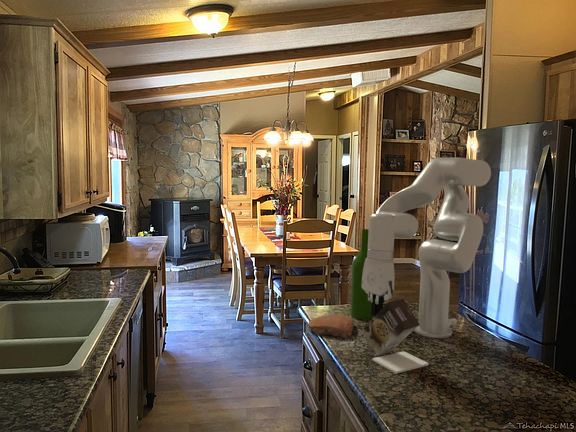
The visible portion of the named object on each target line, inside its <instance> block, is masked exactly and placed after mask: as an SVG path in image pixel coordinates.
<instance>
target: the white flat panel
mask: <svg viewBox="0 0 576 432" xmlns="http://www.w3.org/2000/svg"><path fill="white" fill-rule="evenodd" d="M372 362H374V363H375V364H378V365H380V366H382V367H383V368H386V370H389V371H391V372H393V373H395V374H400V373H403V372H407V371H411V370H416V369H419V368H420V369H421V368H424V367H427V366H429V362H427V361H425V360H423V359H420V358H419V357H416V356H414V355H412V354H410V353H408V352H406V351H404V350H403V351H402V350H401V351H400V352H399V351H398V352H395V353H390V354H385V355H382V356H377V357H373V358H372Z"/></svg>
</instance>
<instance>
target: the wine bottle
mask: <svg viewBox="0 0 576 432" xmlns="http://www.w3.org/2000/svg"><path fill="white" fill-rule="evenodd" d="M368 234H369V228H363V229H361V239H360V240H361V241H360V243H361V244H360V250H359V252H358V254H356V257H355V258H354V259H353V261H352V265H351V267H352V268H351V269H352V271H351V294H350V295H351V297H350V316H351V318H352V319H353V318H354V319H356V320H365V321H366V320H372V319H373V318H374V317H373V316H371V303H372V302H371V301H370V296H369V295H368V294H367V293H366V292H365V290H363V289H362V275H363V268H364V263H365V259H366V258H367V252H368Z"/></svg>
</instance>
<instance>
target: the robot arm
mask: <svg viewBox="0 0 576 432" xmlns="http://www.w3.org/2000/svg"><path fill="white" fill-rule="evenodd" d="M491 176H492V169H491V166H490V164H488V162H486V161H485V160H481V159H473V158H466V157H435V158H433V159H431V160H430V161H429V162H428V163H427V164H426V165H425V167H424V168H423V169H422V171H421V172H420V173H419V174H418V175H417V177H416V178H415V180H414V181H413V183H411V185H409V186H407V187H405V188H403V189H402V190H400V191H398V192H396V193H394V194H393V195H391V196H389V197H388V198H387V199H386V200H385V201H384V202H383V203H382V204H381V205H380V207H379V208H378V209H377V210H376V212H375V213H372V214H370V216H369V220H368V229H369V234H368V252H367V258H366V259H365V263H364V268H363V275H362V289H363V290H365V292H366V293H367V294H368V295H369V296H370V301H371V302H372V303H371V316H373V317H375V316H376V315H377V314H378V313H379V311H380V310H381V309H382V308H383V307H384V304H386V301H392V295H393V294H394V291H395V278H396V277H395V265H394V264H395V263H394V245H395V238H399V239H400V238H401V239H410V238H412V237H414V236H415V235H416V233H417V232H418V231H419V221H418V219H417V218H416V217H415V216H414V215H413V214H410V213H406V212H407V211H410V210H414V209H418V208H422V207H425V206H428V205H430V204H432V203H433V202H434V201H435V199H436V198H437V197H438V196H439V194H440V193H441V191H442V189H443V193H444V196H443V201H442V204H441V206H440V208H439V212H438V213H437V216H436V219H435V221H434V225H433V233H434V235H435V236H437V237H438V238H440V239H434V238H433V239H432V238H431V239H426V240H424V241H423V242H422V243H421V245H419V248H418V259H419V268H420V283H419V286H420V287H419V302H418V303H419V305H418V306H419V307H418V323H419V324H420V325H419V326H418V327H417V328H415V329H414V330H413V332H414V333H415V334H418V335H420V336H422V337H425V338H432V339H446V338H449V337H451V336H452V334H453V330H452V329H451V328H450V326H451V325H456V324H457V323H458V320H457V319H456V318H449V308H450V289H451V281H450V278H449V274H448V273H447V272H450V273H451V272H452V273H456V274H463V273H467V271H469V269H470V268H471V266H472V264H473V262H474V259H475V257H476V254H477V252H478V248H479V246H480V243H481V241H482V238H483V234H484V222H483V219H482V218H481V217H480V216H478V215H477V214H476V213H475V214H474V213H468V210H469V207H470V198H469V195H468V194H467V192H466V190H465V188H464V187H465V186H466V187H483V186H485V185H486V184H487V183H488V182H489V181H490V179H491ZM442 239H443V240H442ZM453 241H455V242H453Z"/></svg>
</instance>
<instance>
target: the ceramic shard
mask: <svg viewBox="0 0 576 432" xmlns="http://www.w3.org/2000/svg"><path fill="white" fill-rule="evenodd" d="M354 323H355V321H354V319H353V317H350V316H349V315H348V316H347V315H345V314H326V315H321V316H318V317H314V318H312V319H310V320H309V321H308V328H309V330H310V331H311V332H312V333H314V334H315V335H316V336H319V335H320V336H321V335H326V336H330V335H332V336H333V337H338V338H339V337H341V338H344V339H351V336H352V334H353V331H354Z"/></svg>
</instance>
